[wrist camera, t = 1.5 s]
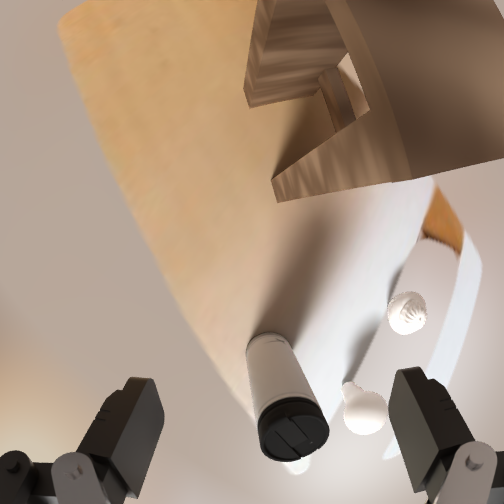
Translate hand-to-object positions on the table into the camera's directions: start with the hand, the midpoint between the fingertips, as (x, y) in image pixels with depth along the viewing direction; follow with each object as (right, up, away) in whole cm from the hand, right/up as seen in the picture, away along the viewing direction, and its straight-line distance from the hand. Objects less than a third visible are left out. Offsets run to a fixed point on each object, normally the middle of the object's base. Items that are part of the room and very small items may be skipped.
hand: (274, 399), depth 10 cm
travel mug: (+1, -9, +34) cm, 35 cm away
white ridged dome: (+21, -3, +35) cm, 41 cm away
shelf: (+5, +20, +31) cm, 37 cm away
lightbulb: (+14, -16, +36) cm, 41 cm away
